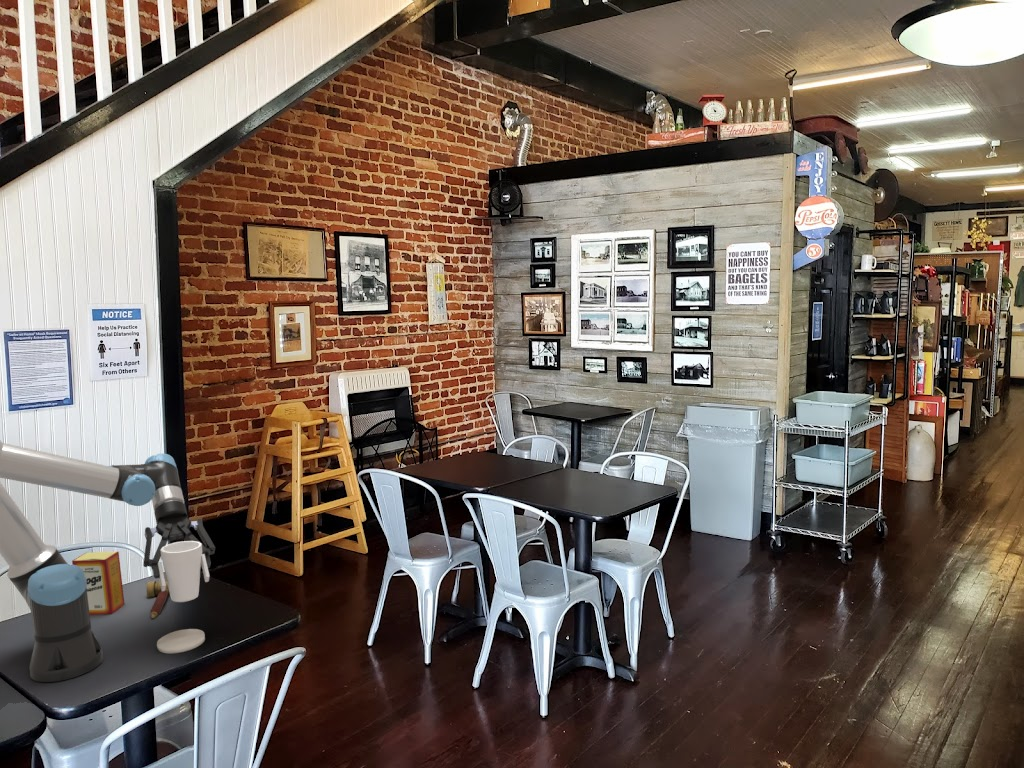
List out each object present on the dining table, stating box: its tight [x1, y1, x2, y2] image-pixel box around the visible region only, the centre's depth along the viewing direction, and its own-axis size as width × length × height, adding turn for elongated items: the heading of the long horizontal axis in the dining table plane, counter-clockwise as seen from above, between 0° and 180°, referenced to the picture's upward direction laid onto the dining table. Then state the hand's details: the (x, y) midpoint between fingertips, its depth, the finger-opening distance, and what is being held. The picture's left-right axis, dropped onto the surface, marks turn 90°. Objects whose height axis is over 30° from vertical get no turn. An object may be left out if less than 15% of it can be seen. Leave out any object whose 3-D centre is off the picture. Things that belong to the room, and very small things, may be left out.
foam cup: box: [160, 540, 203, 603], centre depth 195 cm, size 10×9×13 cm
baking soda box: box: [71, 551, 126, 616], centre depth 218 cm, size 10×6×16 cm
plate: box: [156, 628, 206, 654], centre depth 195 cm, size 11×11×1 cm
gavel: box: [146, 580, 170, 619], centre depth 221 cm, size 21×5×10 cm
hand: (186, 583), depth 192 cm, fingers closed on foam cup, 9 cm apart
